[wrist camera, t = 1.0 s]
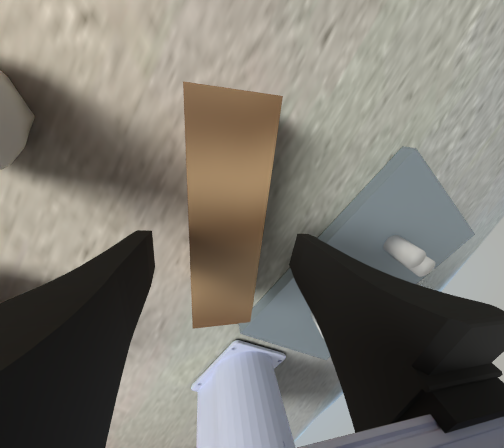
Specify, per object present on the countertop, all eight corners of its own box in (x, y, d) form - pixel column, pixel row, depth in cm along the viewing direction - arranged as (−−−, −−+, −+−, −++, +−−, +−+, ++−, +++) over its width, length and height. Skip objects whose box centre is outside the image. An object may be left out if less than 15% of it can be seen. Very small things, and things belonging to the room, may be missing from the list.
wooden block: (239, 275, 19) (250, 322, 15) (195, 278, 18) (192, 328, 14) (256, 102, 13) (282, 96, 9) (190, 93, 12) (183, 81, 8)
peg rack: (321, 351, 28) (336, 381, 25) (238, 323, 22) (244, 358, 19) (462, 228, 22) (505, 247, 19) (402, 146, 16) (451, 153, 13)
